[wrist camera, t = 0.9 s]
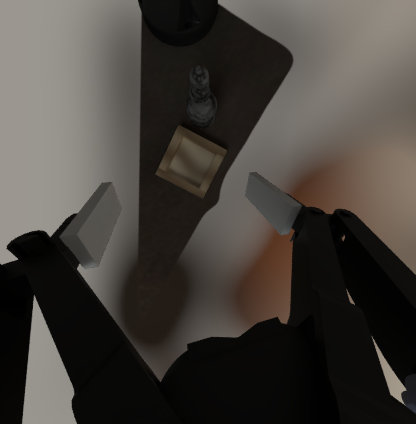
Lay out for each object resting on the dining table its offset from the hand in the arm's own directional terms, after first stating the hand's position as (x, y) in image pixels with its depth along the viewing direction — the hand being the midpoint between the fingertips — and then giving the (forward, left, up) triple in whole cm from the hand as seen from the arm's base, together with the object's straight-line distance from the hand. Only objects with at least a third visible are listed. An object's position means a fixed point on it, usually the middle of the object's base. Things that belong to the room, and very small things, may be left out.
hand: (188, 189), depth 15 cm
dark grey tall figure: (-15, -7, -18) cm, 25 cm away
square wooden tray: (-5, -5, -18) cm, 19 cm away
